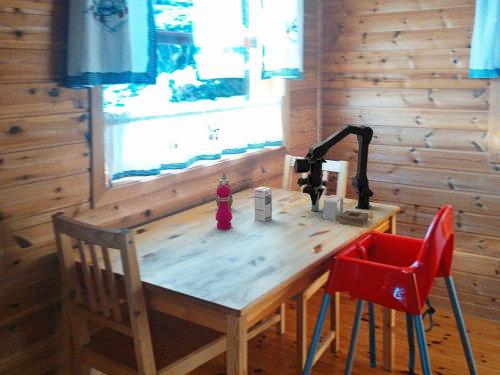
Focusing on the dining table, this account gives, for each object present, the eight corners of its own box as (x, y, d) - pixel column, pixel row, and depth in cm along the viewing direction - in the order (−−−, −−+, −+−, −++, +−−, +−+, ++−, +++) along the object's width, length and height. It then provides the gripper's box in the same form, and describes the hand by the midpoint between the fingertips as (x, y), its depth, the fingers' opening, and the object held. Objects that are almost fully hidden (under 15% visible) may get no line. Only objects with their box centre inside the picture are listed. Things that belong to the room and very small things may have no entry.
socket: (346, 217, 254) (346, 210, 253) (367, 220, 249) (368, 213, 248) (339, 223, 245) (339, 216, 244) (361, 226, 241) (362, 218, 240)
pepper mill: (230, 229, 237) (229, 184, 232) (213, 229, 238) (212, 183, 233) (234, 225, 243) (233, 180, 239) (218, 224, 245) (217, 179, 240)
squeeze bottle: (213, 207, 271) (213, 171, 267) (228, 206, 275) (228, 170, 270) (219, 211, 264) (219, 174, 260) (235, 209, 267) (235, 173, 263)
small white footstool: (330, 213, 261) (331, 194, 259) (342, 214, 259) (343, 196, 256) (323, 218, 253) (323, 199, 250) (335, 220, 250) (336, 201, 248)
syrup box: (264, 221, 248) (264, 190, 245) (254, 219, 251) (253, 188, 248) (271, 219, 252) (272, 187, 249) (261, 216, 256) (261, 186, 253)
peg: (312, 208, 268) (313, 192, 266) (319, 209, 266) (320, 193, 264) (310, 210, 265) (310, 194, 263) (317, 211, 263) (317, 195, 261)
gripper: (307, 167, 273) (306, 198, 277) (292, 174, 257) (291, 207, 260) (328, 169, 268) (327, 200, 272) (315, 176, 252) (314, 209, 255)
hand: (315, 204), depth 265 cm, fingers closed on peg, 3 cm apart
